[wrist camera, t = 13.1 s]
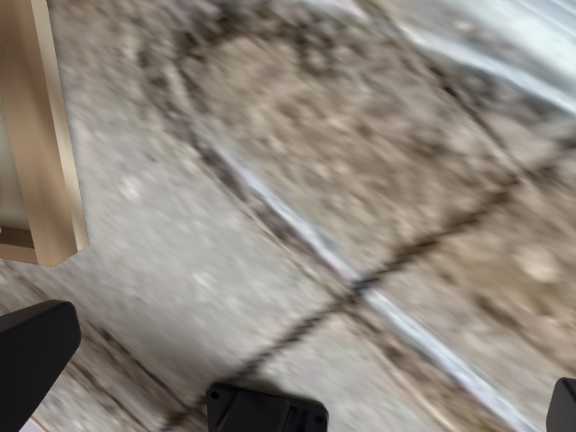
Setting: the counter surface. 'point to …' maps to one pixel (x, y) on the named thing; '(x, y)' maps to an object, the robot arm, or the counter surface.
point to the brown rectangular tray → (35, 144)
